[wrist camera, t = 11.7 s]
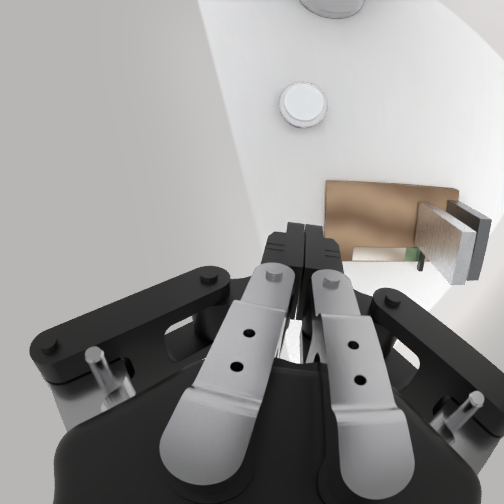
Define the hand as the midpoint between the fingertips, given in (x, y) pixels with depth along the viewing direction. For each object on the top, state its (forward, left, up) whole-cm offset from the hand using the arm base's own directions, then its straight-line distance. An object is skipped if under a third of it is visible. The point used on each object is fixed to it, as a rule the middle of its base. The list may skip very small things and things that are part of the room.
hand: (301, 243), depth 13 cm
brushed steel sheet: (+8, +18, -25) cm, 32 cm away
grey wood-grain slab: (+7, +23, -26) cm, 35 cm away
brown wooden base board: (+7, +14, -27) cm, 31 cm away
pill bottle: (-8, +1, -27) cm, 28 cm away
